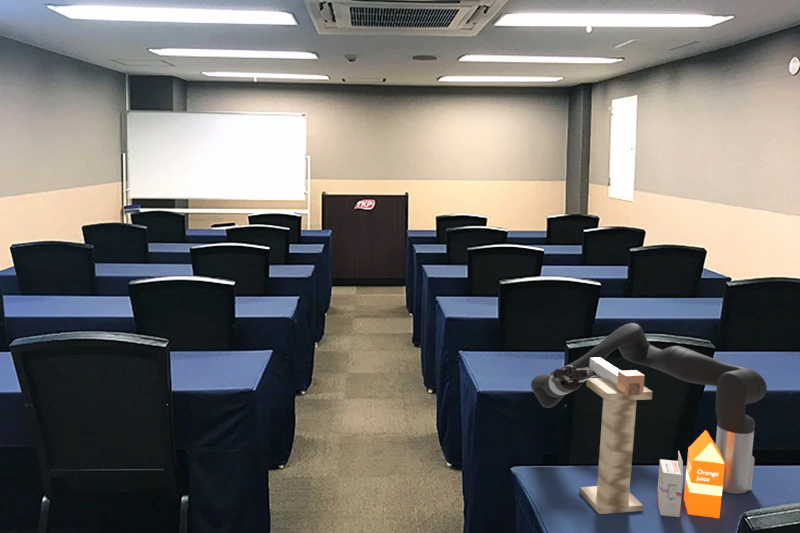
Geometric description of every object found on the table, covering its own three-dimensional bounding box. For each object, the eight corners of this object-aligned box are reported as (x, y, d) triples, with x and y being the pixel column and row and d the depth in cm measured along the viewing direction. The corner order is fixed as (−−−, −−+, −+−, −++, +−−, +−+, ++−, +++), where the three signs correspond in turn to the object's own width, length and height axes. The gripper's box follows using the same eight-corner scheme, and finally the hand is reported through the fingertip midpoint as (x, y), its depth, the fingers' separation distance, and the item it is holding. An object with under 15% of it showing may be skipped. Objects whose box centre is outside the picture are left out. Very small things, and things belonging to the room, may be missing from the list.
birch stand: (620, 489, 207) (629, 376, 201) (642, 510, 195) (652, 391, 190) (579, 492, 204) (586, 378, 199) (599, 514, 193) (607, 393, 187)
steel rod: (602, 367, 208) (604, 350, 208) (643, 394, 187) (644, 375, 186) (585, 368, 207) (587, 350, 207) (624, 395, 186) (625, 375, 185)
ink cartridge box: (655, 500, 201) (659, 447, 198) (675, 502, 200) (679, 449, 198) (659, 515, 193) (664, 461, 190) (680, 518, 192) (685, 463, 189)
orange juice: (687, 514, 194) (694, 440, 190) (683, 498, 202) (689, 427, 199) (720, 518, 192) (727, 443, 189) (714, 502, 200) (721, 430, 197)
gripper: (540, 369, 228) (561, 356, 213) (585, 367, 230) (608, 355, 215) (544, 394, 225) (564, 383, 210) (589, 392, 228) (612, 381, 213)
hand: (586, 369), depth 213 cm, fingers open, 8 cm apart
